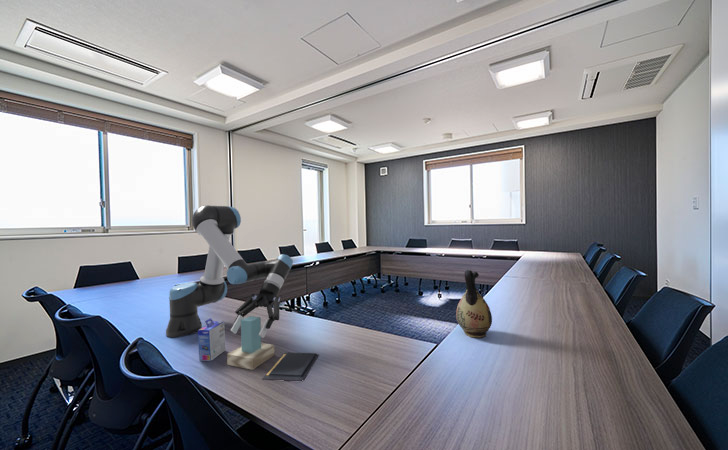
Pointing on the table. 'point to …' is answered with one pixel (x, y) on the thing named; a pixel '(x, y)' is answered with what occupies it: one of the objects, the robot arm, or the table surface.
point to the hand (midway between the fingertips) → (246, 334)
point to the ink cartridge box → (211, 340)
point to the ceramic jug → (473, 309)
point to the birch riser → (250, 357)
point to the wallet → (292, 367)
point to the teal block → (250, 334)
